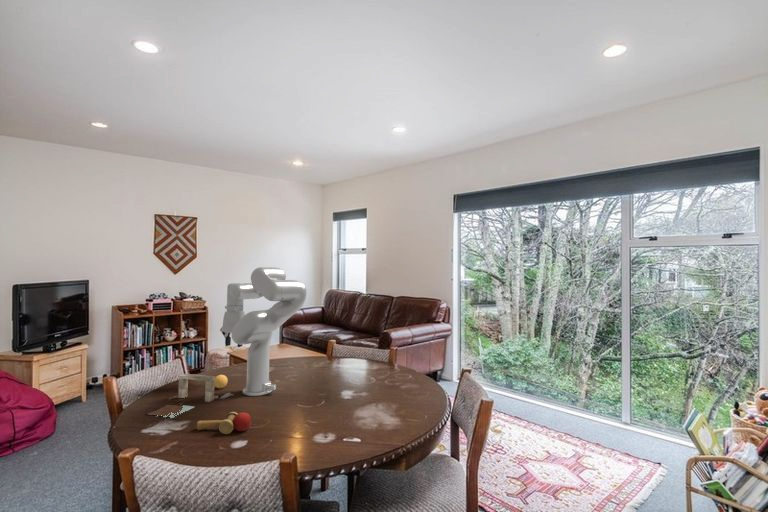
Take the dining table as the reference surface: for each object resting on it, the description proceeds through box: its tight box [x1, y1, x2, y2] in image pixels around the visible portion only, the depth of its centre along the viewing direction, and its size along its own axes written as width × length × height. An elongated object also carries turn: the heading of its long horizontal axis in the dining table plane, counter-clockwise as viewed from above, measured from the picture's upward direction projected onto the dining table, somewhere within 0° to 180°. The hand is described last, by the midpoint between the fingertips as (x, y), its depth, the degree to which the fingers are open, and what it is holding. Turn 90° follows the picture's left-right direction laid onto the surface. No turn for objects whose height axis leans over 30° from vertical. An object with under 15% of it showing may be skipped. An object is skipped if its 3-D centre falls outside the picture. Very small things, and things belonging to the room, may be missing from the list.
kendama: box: [196, 411, 252, 435], centre depth 134 cm, size 8×6×18 cm
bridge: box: [177, 373, 216, 403], centre depth 164 cm, size 3×15×10 cm, turn 76°
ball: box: [214, 374, 229, 389], centre depth 180 cm, size 6×6×6 cm
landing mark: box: [156, 404, 195, 419], centre depth 150 cm, size 12×12×1 cm
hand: (233, 345), depth 189 cm, fingers open, 5 cm apart
